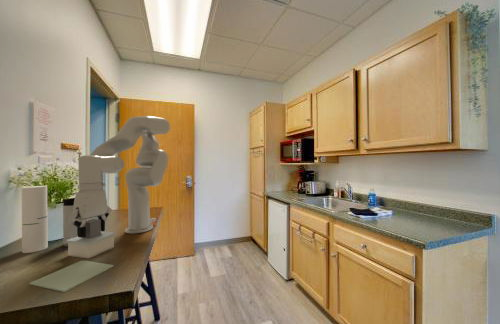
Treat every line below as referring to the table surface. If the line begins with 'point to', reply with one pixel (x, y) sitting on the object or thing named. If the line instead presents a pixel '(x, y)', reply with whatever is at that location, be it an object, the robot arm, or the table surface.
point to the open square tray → (90, 248)
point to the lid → (91, 233)
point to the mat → (71, 275)
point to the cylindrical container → (34, 219)
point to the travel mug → (68, 227)
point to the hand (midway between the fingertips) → (91, 233)
